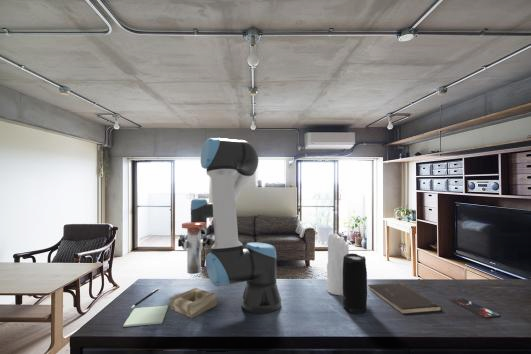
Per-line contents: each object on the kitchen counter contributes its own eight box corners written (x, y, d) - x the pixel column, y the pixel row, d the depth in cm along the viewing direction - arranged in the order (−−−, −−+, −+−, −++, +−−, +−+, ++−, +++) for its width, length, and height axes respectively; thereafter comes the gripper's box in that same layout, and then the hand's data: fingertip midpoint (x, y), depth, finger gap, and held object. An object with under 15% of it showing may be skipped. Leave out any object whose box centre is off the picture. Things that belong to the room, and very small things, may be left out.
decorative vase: (348, 285, 121) (348, 230, 122) (354, 295, 111) (353, 235, 111) (324, 285, 122) (323, 230, 123) (327, 294, 112) (326, 234, 112)
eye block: (216, 304, 103) (216, 294, 103) (192, 318, 93) (192, 306, 93) (195, 297, 110) (195, 287, 110) (170, 308, 100) (170, 298, 100)
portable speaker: (345, 315, 94) (344, 259, 95) (340, 303, 104) (340, 252, 104) (370, 316, 94) (369, 259, 94) (363, 304, 103) (362, 252, 103)
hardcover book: (401, 315, 95) (401, 308, 95) (368, 290, 118) (368, 284, 118) (441, 312, 97) (441, 305, 98) (401, 287, 120) (401, 282, 120)
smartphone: (462, 297, 108) (501, 315, 93) (462, 299, 108) (501, 317, 93) (447, 299, 106) (484, 317, 92) (447, 301, 106) (484, 319, 92)
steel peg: (211, 270, 103) (211, 223, 103) (192, 277, 95) (192, 226, 96) (195, 266, 108) (195, 221, 108) (176, 272, 100) (176, 224, 101)
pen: (160, 289, 119) (160, 287, 119) (132, 309, 100) (132, 306, 100) (158, 289, 119) (158, 286, 119) (129, 309, 100) (130, 306, 100)
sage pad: (168, 307, 101) (168, 305, 101) (162, 323, 89) (162, 321, 89) (134, 309, 99) (134, 308, 99) (123, 327, 87) (123, 325, 87)
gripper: (217, 242, 121) (218, 256, 98) (176, 244, 118) (166, 258, 95) (217, 226, 121) (218, 235, 98) (176, 227, 118) (166, 237, 95)
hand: (192, 246), depth 97 cm, fingers closed on steel peg, 5 cm apart
